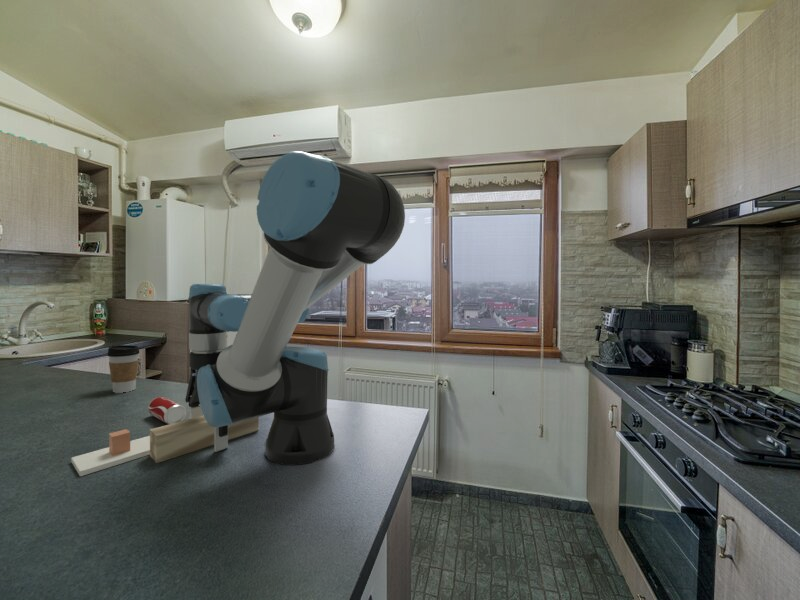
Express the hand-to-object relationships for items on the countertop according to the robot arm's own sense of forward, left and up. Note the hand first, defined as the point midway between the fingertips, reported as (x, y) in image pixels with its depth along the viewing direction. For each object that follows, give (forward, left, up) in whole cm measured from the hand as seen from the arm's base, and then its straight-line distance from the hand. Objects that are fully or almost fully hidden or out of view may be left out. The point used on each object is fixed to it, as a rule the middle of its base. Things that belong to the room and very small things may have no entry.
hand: (208, 440), depth 82 cm
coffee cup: (+59, +2, 0) cm, 59 cm away
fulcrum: (+7, +15, 0) cm, 17 cm away
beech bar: (0, 0, 0) cm, 1 cm away
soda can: (+15, +1, +2) cm, 15 cm away
